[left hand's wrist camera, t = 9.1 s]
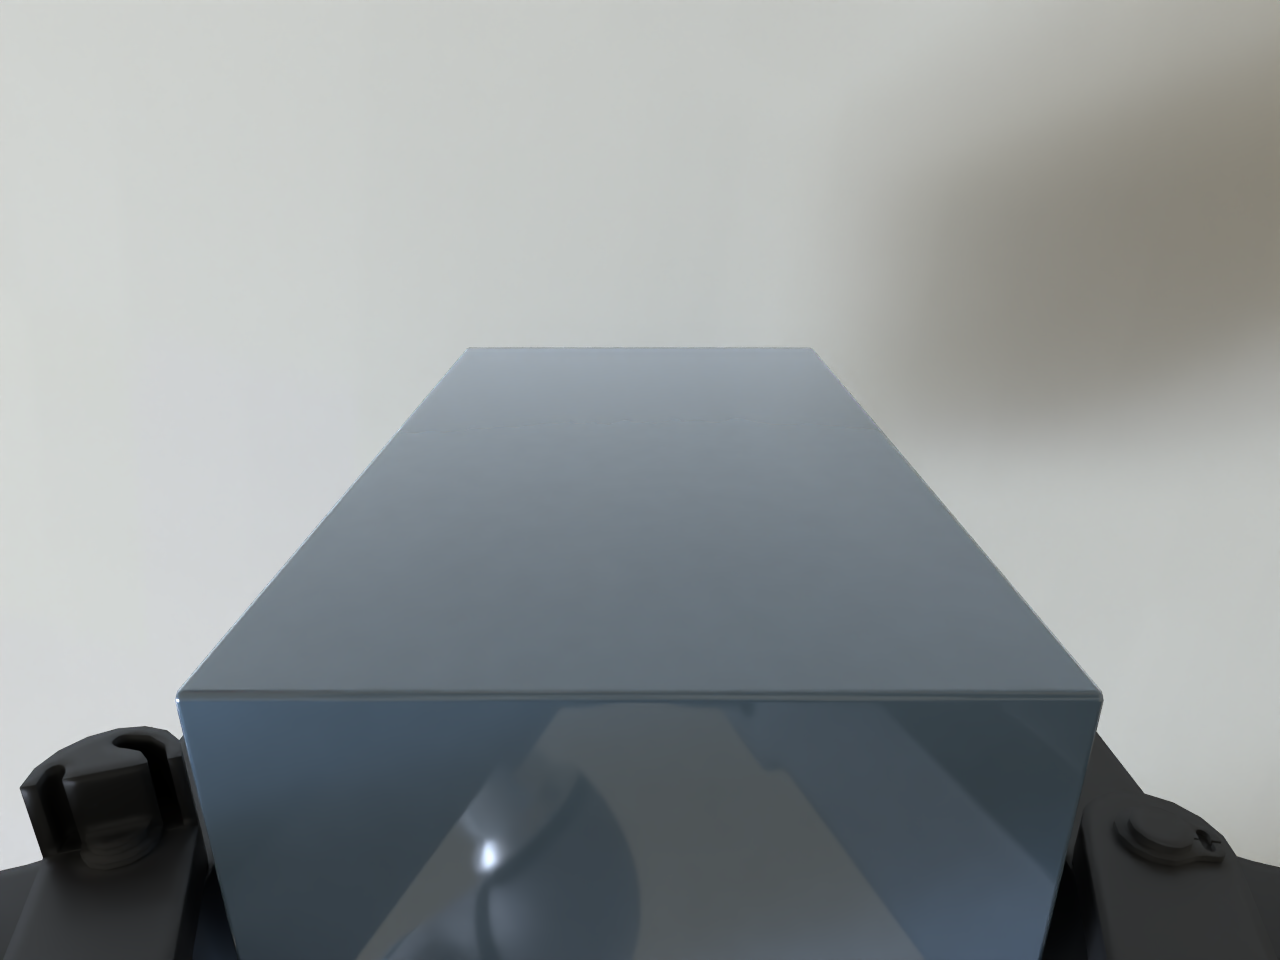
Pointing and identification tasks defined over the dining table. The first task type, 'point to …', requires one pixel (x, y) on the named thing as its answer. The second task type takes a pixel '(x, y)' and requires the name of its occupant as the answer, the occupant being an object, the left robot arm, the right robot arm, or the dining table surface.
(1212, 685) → the dining table surface
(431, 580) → the block
